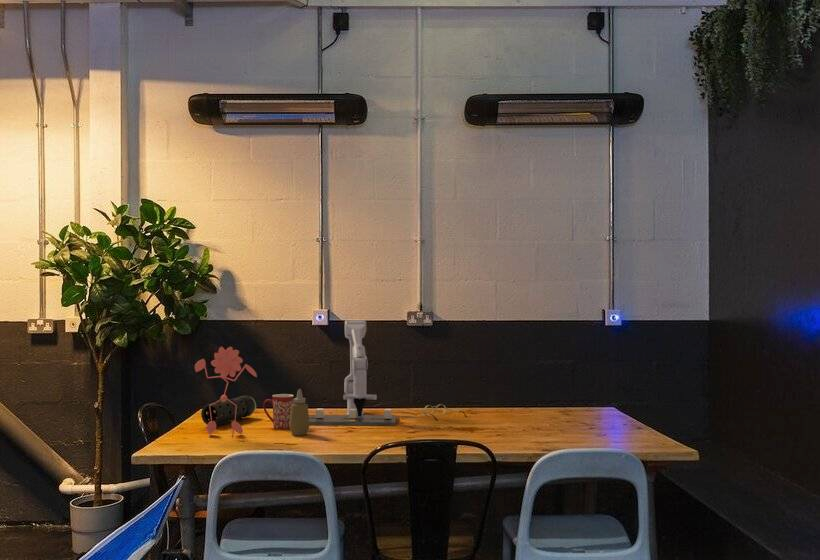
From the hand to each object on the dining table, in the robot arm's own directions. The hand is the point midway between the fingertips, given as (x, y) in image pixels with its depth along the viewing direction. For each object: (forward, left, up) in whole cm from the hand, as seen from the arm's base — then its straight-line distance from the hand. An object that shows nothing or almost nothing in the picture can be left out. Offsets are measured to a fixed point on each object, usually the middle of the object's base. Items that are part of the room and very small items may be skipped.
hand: (359, 415), depth 310 cm
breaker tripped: (0, -3, -1) cm, 3 cm away
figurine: (+31, -50, -3) cm, 59 cm away
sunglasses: (-15, +37, -3) cm, 40 cm away
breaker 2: (0, +12, -1) cm, 12 cm away
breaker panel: (0, -5, -3) cm, 5 cm away
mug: (+15, -33, -3) cm, 36 cm away
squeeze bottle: (+30, -21, -3) cm, 37 cm away
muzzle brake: (+4, -57, -3) cm, 57 cm away
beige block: (0, -18, -1) cm, 18 cm away
